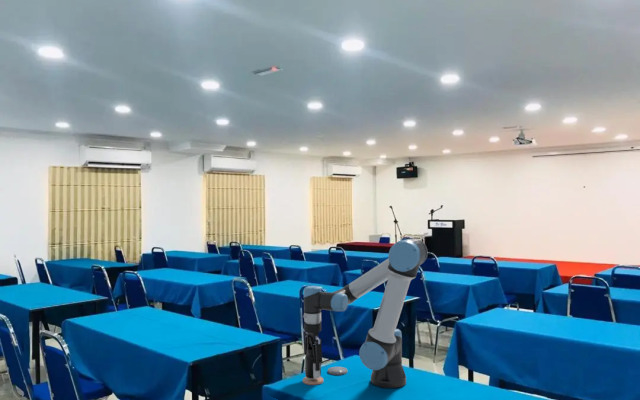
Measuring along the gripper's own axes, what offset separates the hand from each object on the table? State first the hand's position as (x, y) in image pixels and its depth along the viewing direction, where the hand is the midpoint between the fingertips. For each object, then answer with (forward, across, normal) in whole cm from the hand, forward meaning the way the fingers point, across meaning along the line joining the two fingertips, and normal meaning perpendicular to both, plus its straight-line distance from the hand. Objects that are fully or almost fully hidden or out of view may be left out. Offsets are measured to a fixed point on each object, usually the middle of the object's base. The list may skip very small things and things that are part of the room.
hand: (313, 374), depth 212 cm
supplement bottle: (+1, 0, 0) cm, 1 cm away
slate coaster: (+3, -6, +15) cm, 16 cm away
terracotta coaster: (+3, 0, 0) cm, 3 cm away
